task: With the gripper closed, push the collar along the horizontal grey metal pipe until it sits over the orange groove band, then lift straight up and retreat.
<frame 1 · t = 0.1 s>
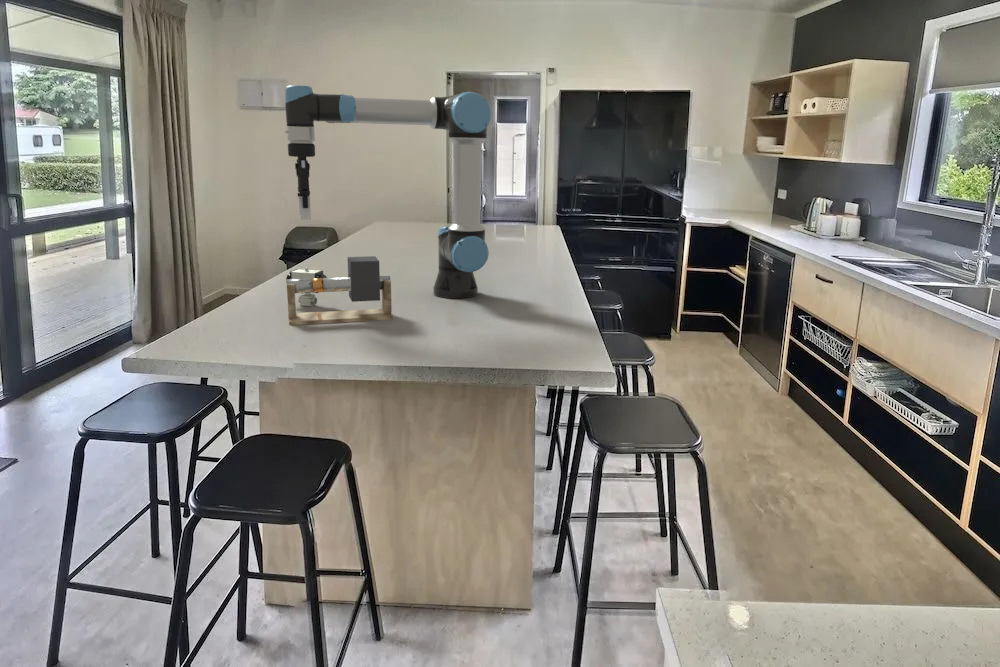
hand: (305, 217, 210), 28 cm above the countertop, fingers open, 13 cm apart
pipe: (339, 284, 205), point 10 cm above the countertop
pneumatic valve: (308, 305, 223), on the countertop
collar: (363, 278, 207), point 11 cm above the countertop, slide at 0.0 cm
pipe rig: (340, 318, 208), on the countertop
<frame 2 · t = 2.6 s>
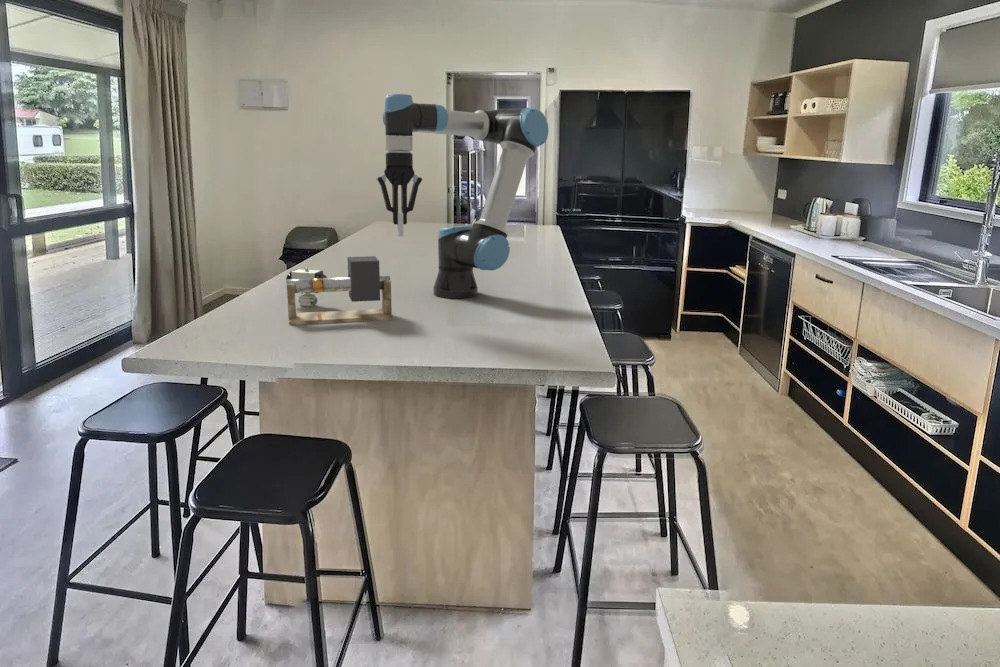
hand: (400, 235, 207), 24 cm above the countertop, fingers closed
nothing on the countertop moved.
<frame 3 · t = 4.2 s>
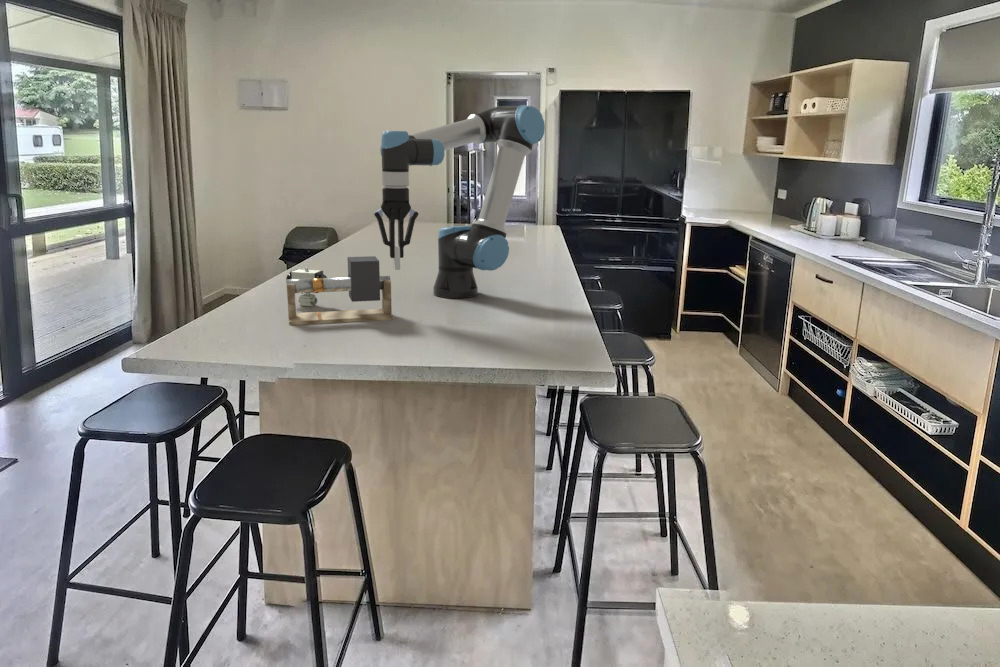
hand: (396, 268, 209), 14 cm above the countertop, fingers closed
nothing on the countertop moved.
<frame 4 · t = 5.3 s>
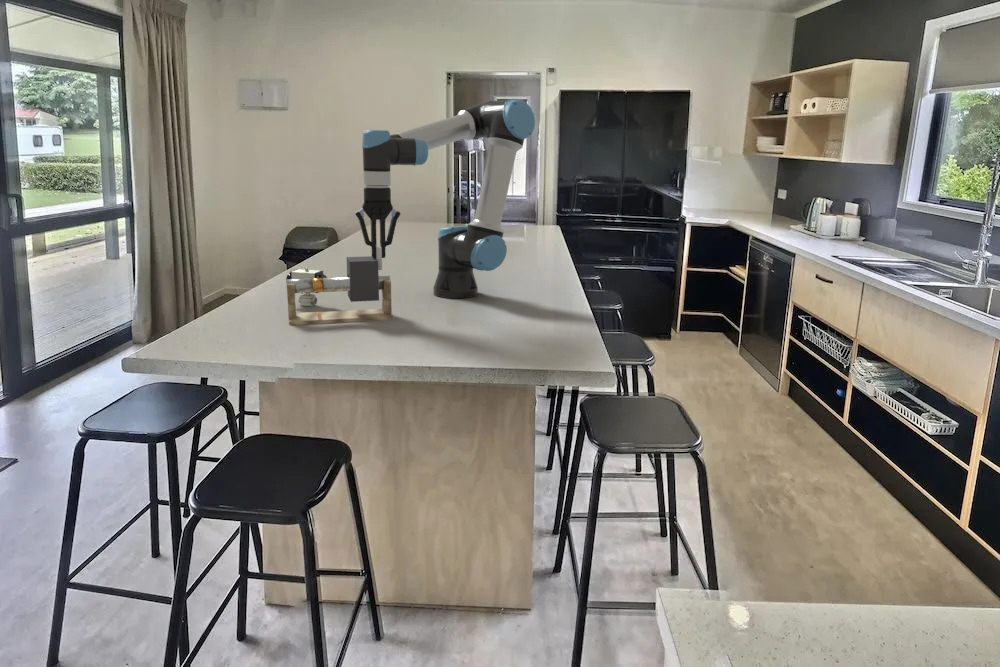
hand: (378, 269, 208), 14 cm above the countertop, fingers closed
collar: (362, 278, 207), point 11 cm above the countertop, slide at 0.3 cm, touching gripper
everything else where it was.
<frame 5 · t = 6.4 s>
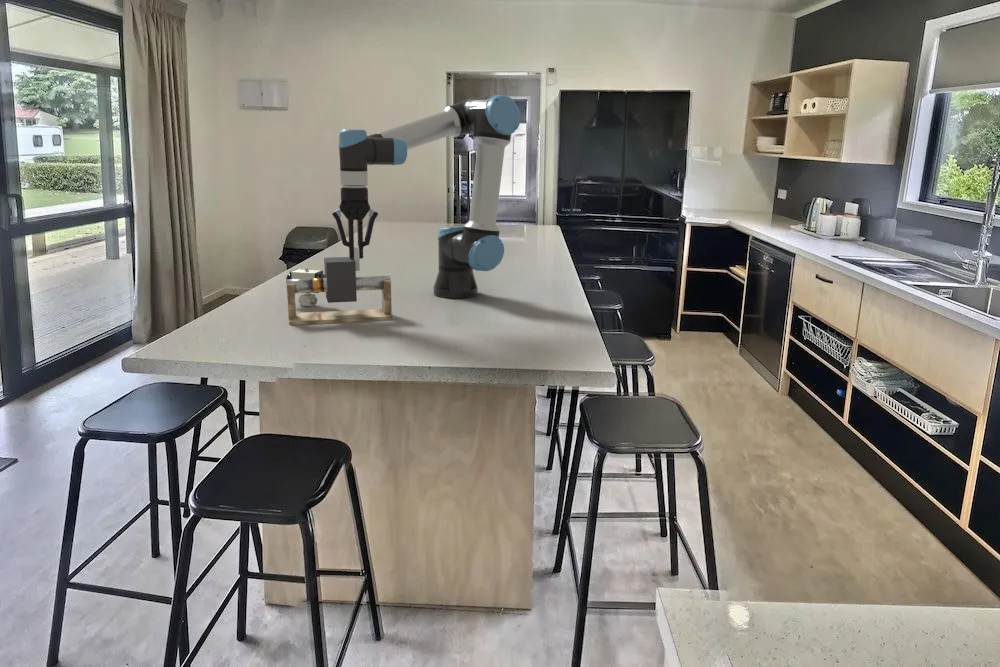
hand: (356, 269, 206), 14 cm above the countertop, fingers closed
collar: (340, 279, 205), point 11 cm above the countertop, slide at 6.7 cm, touching gripper
everything else where it was.
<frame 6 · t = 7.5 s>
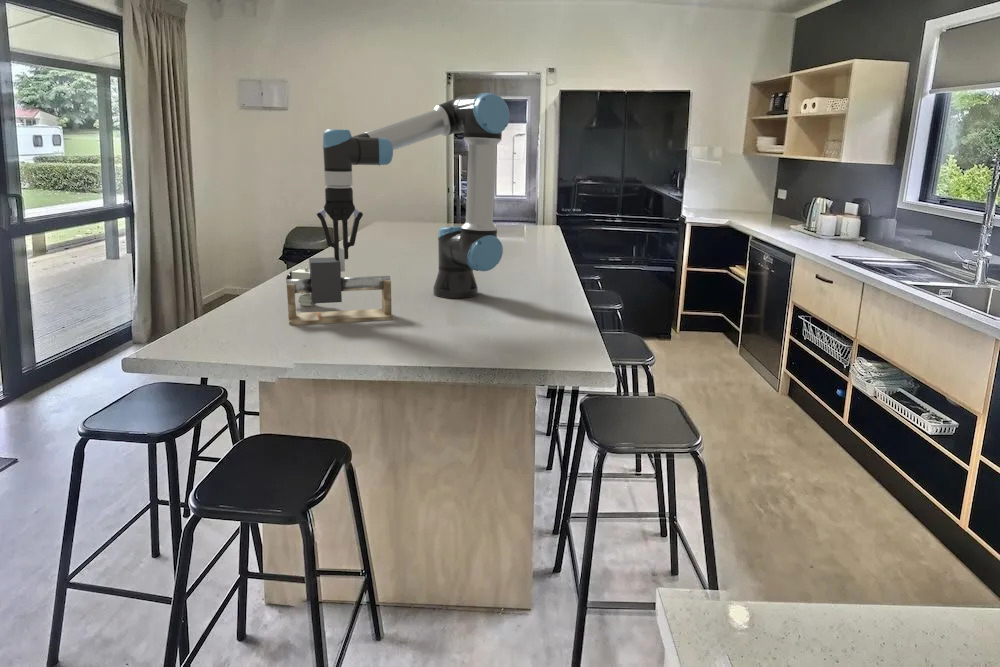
hand: (341, 270, 205), 14 cm above the countertop, fingers closed
collar: (325, 279, 204), point 11 cm above the countertop, slide at 10.9 cm, touching gripper
everything else where it was.
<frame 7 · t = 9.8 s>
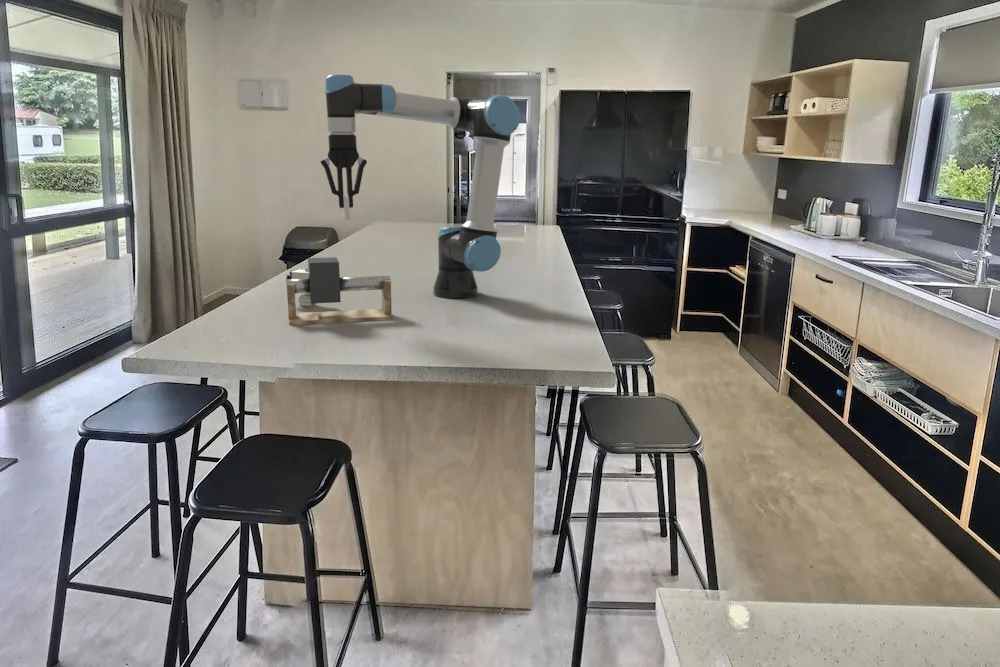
hand: (346, 219, 204), 28 cm above the countertop, fingers closed
collar: (324, 280, 204), point 11 cm above the countertop, slide at 11.2 cm
everything else where it was.
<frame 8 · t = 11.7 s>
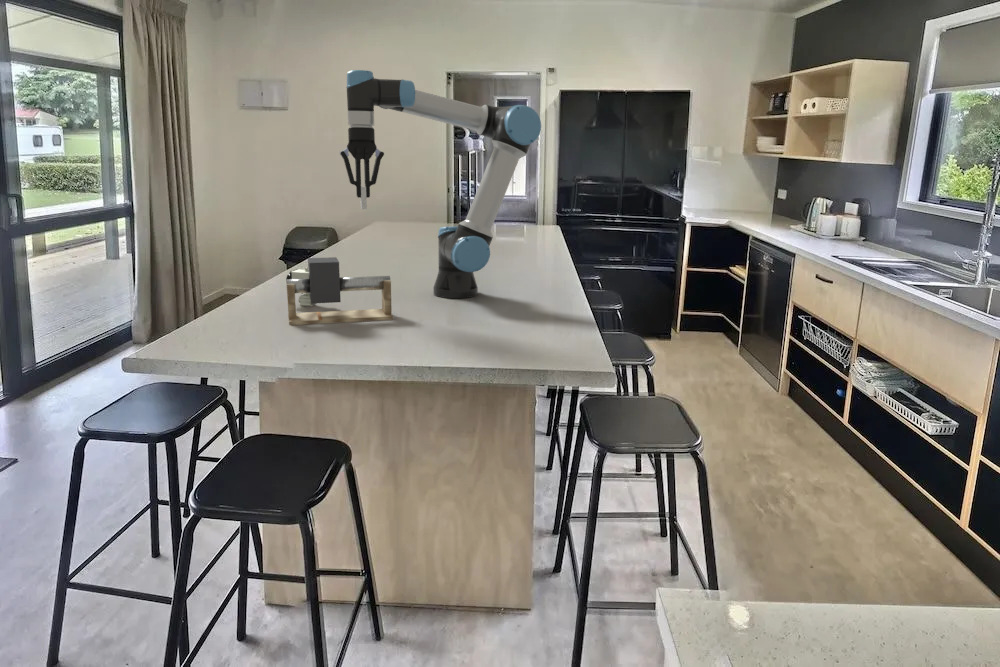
hand: (363, 208, 214), 30 cm above the countertop, fingers closed
nothing on the countertop moved.
at the end: collar slide at 11.2 cm; collar moved 11.2 cm from its start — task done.
